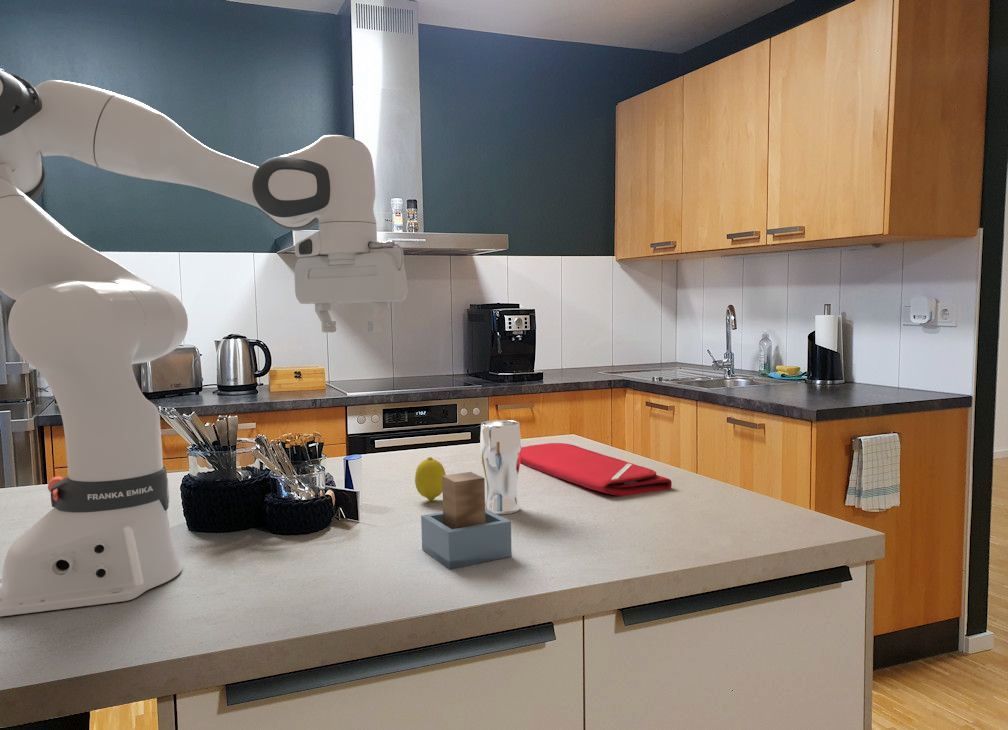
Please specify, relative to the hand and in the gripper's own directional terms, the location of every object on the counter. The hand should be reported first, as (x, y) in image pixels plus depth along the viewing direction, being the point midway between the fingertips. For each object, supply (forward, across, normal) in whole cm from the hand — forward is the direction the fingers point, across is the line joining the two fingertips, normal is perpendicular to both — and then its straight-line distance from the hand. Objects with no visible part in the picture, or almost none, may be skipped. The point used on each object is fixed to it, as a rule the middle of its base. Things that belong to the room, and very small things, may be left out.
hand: (351, 332), depth 119 cm
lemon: (+31, -2, -18) cm, 36 cm away
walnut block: (+30, -22, +4) cm, 38 cm away
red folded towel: (+32, -17, -50) cm, 62 cm away
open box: (+31, -22, +3) cm, 39 cm away
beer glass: (+31, -16, -18) cm, 40 cm away
